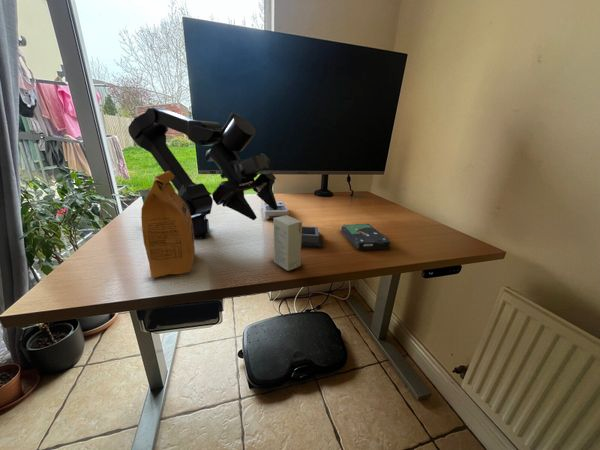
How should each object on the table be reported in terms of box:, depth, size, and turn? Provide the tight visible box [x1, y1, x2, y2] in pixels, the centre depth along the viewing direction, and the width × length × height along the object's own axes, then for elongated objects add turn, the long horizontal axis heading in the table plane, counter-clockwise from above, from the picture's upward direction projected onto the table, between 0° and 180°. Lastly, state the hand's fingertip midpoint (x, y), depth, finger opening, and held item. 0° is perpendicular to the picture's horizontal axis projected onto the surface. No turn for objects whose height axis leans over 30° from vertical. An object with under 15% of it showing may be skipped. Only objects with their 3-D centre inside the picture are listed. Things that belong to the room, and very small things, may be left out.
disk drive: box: [341, 223, 391, 251], centre depth 78 cm, size 10×3×15 cm
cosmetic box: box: [273, 214, 303, 272], centre depth 59 cm, size 6×4×12 cm
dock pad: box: [301, 225, 323, 249], centre depth 75 cm, size 10×11×3 cm
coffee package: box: [140, 171, 196, 279], centre depth 55 cm, size 10×12×22 cm
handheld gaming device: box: [262, 200, 290, 220], centre depth 97 cm, size 9×15×4 cm, turn 12°
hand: (266, 213), depth 60 cm, fingers open, 9 cm apart
